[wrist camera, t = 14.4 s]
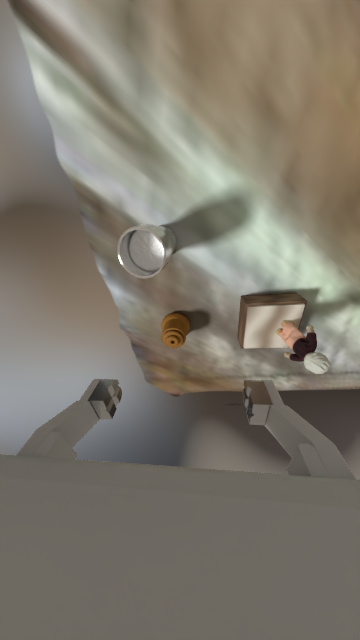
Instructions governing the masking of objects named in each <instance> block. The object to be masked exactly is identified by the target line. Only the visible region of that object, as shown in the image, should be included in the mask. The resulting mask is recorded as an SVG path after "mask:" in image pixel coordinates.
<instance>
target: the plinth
mask: <svg viewBox="0 0 360 640" xmlns="http://www.w3.org/2000/svg"><path fill="white" fill-rule="evenodd" d="M306 303H307V300H305V299H304V298H302V297H301V296H300V295H298V294H297V293H287V294H269V295H251V296H241V302H240V314H239V326H238V341H239V344H240V347H241V348H285V347H289V346H288V345H287V344H286V343H285V342H284V341H283V340H282V338H281V337H280V336H278V335H277V334H276V331H277V330H278V329H280V328H281V329H283V328H284V327H282V326H281V322H282V321H284V320H291V321H294V323H295V325H294V326H296V327H297V328H298V329H299V327H300V323H301V320H302V316H303V313H304V309H305V306H306Z"/></svg>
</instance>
